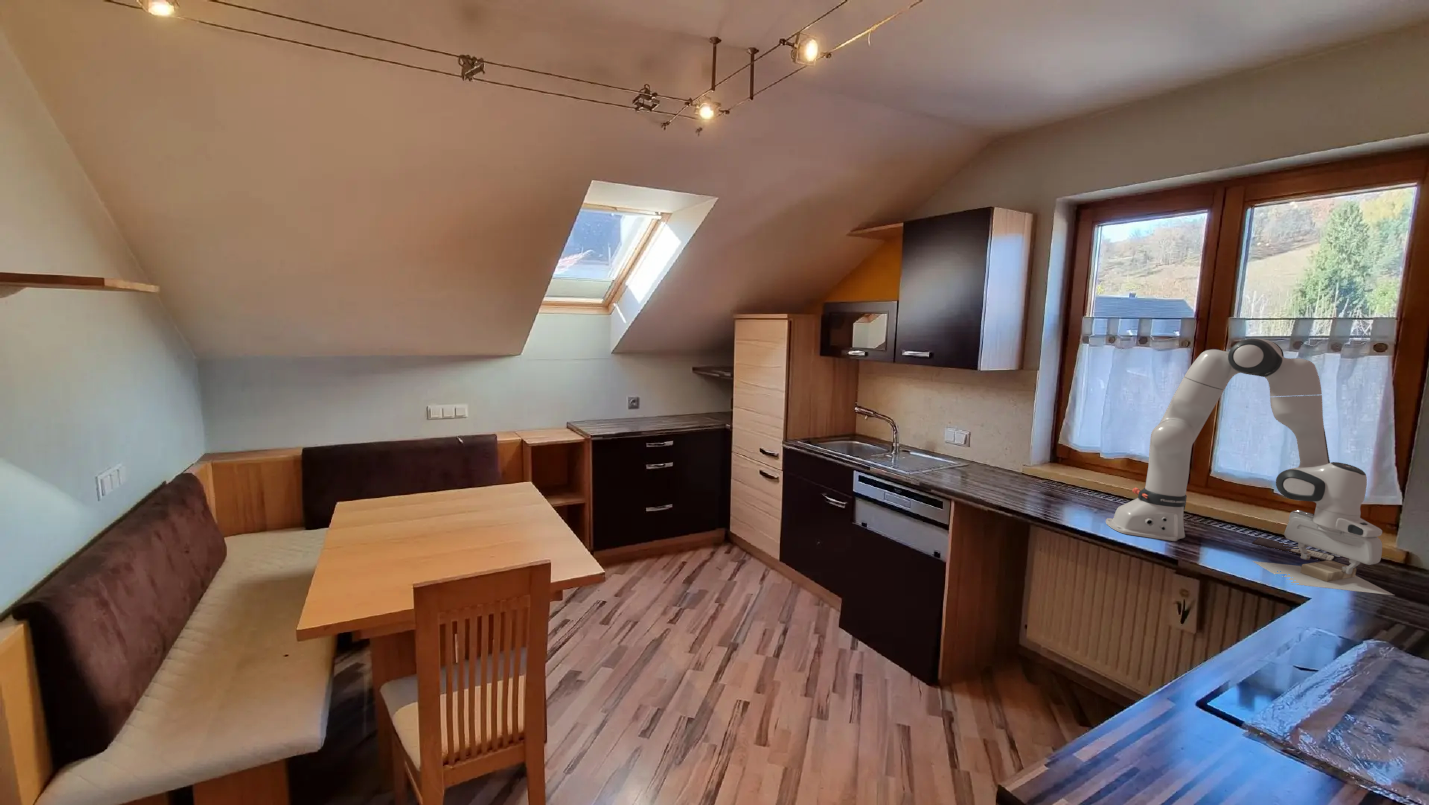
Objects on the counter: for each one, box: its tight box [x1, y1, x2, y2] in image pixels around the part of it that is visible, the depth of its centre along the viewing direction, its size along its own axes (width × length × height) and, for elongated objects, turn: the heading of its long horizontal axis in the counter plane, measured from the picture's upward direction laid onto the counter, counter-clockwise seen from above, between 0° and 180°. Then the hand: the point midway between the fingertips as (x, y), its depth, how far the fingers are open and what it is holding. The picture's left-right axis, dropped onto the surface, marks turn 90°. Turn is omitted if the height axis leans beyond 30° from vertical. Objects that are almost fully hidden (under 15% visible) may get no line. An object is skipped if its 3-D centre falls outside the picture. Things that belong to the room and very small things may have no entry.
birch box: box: [1300, 560, 1357, 581], centre depth 172 cm, size 3×6×13 cm
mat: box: [1252, 560, 1394, 596], centre depth 171 cm, size 24×16×1 cm, turn 79°
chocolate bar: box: [1252, 536, 1336, 562], centre depth 193 cm, size 9×1×18 cm
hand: (1325, 566), depth 172 cm, fingers open, 8 cm apart
